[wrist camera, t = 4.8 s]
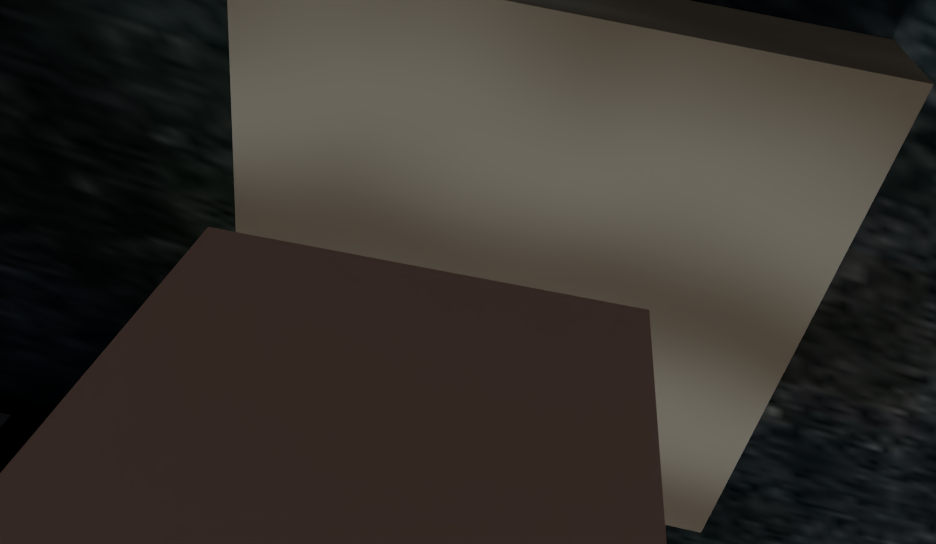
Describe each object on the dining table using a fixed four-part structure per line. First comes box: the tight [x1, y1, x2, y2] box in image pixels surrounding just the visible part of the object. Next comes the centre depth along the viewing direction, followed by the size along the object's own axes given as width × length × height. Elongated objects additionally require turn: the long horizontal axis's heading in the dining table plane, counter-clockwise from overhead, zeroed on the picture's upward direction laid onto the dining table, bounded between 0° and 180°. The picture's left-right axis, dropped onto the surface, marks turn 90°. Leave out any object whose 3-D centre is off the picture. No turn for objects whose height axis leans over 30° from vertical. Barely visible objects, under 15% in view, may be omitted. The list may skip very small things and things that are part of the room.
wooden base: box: [227, 0, 934, 533], centre depth 19 cm, size 13×13×2 cm
